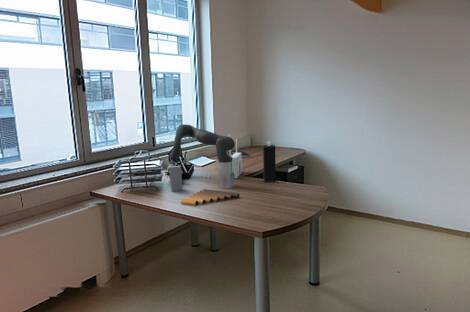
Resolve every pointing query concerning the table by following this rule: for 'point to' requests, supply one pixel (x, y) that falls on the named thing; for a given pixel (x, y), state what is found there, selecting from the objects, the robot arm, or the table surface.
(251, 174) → the table surface
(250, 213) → the table surface
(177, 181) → the slate block
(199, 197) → the pan flute
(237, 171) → the skincare box
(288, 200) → the table surface
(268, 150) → the black bottle
